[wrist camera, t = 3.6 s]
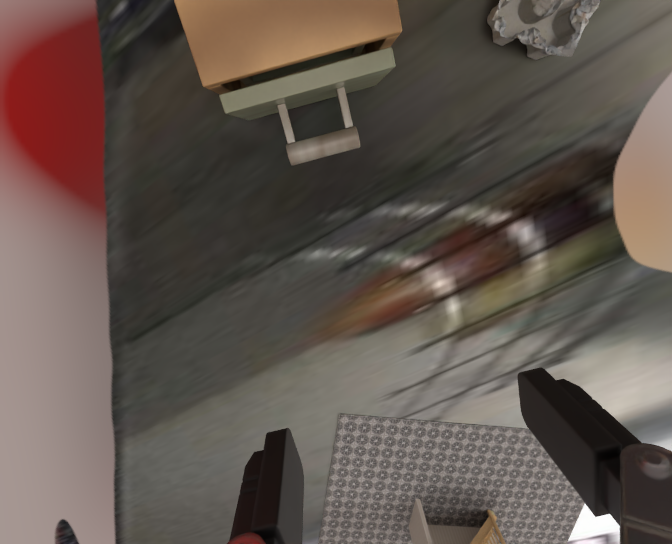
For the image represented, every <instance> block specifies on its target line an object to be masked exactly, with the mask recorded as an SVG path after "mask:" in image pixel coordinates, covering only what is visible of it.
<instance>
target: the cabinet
mask: <svg viewBox="0 0 672 544" xmlns="http://www.w3.org/2000/svg"><path fill="white" fill-rule="evenodd" d="M174 2H175V5H176V8H177V11H178V14H179V17H180V20H181V23H182V26H183V29H184V32H185V35H186V38H187V41H188V43H189V46H190V49H191V52H192V55H193V58H194V61H195V64H196V67H197V70H198V73H199V76H200V79H201V82H202V85H203V87H205V88H207V89H209V90H212V91H214V92H216V93H218V94H224V93H227V92H231V91H234V90H238V89H242V88H245V87H249V86H252V85H256V84H259V83H263V82H267V81H270V80H274V79H277V78H281V77H285V76H288V75H292V74H295V73H299V72H302V71H306V70H310V69H313V68H317V67H320V66H324V65H328V64H331V63H335V62H338V61H342V60H345V59H349V58H353V57H356V56H360V55H363V54H367V53H371V52H374V51H378V50H381V49H385V48H388V47H390V46H391V45H392V44H393V42H394V41H395V40H396V38H397V37H398V36H399V34H400V33H401V32H402V25H401V19H400V13H399V8H398V2H397V0H174ZM364 44H365V46H364V48H363V50H362V52H361V54H360V55H356V56H353V57H349V58H345V59H342V60H338V61H335V62H331V63H328V64H324V65H320V66H317V67H313V68H310V69H306V70H302V71H299V72H295V73H292V74H288V75H285V76H281V77H277V78H274V79H270V80H267V81H263V82H259V83H256V84H252V85H249V86H246V85H245V84H244V83H243V82H241V81H240V80H239V79H243V78H246V77H250V76H253V75H257V74H261V73H264V72H268V71H271V70H275V69H278V68H282V67H285V66H289V65H293V64H296V63H300V62H303V61H307V60H310V59H314V58H318V57H321V56H325V55H328V54H332V53H335V52H339V51H343V50H346V49H350V48H353V47H357V46H360V45H364Z"/></svg>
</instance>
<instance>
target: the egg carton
mask: <svg viewBox="0 0 672 544" xmlns="http://www.w3.org/2000/svg"><path fill="white" fill-rule="evenodd" d="M600 1H601V0H500V1H499V5H497V6H496V7H494V8H493V9H492V10H491V12H490V14H489V16H488V18H487V23H488V24H489V25H490V27H491V28H492V32H493V42H494V43H496V44H499V45H501V46H503V45H505V44H506V43H509V42H511V41H513V40H514V39H516V38H519V40H520V42H522V43H523V44H526V45H527V49H528V51H527V56H528V57H530V58H532V59H534V60H538V59H540V58H543V57H545V56H548V55H558V56H569V57H571V56H572V55H573V53H574V51H575V48H576V46H577V44H578V42H579V40H580V38H581V34H582V32H583V30H584V28H585V26H586V25H587V24H588V23H589V18H590V17H591V15H592V14H593V13H594V12H595V11H596V9H597V8H598V6H599V4H600Z"/></svg>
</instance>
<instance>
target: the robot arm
mask: <svg viewBox="0 0 672 544" xmlns="http://www.w3.org/2000/svg"><path fill="white" fill-rule="evenodd" d="M518 386H519V396H520V406H521V412H522V416H523V418H524V421H525V423H526V425H527V427H528V428H529V430H530V431H531V432H532V434H533V435H534V436H535V438H536V439H537V440H538V441H539V443H540V444H541V445H542V447H543V448H544V449H545V451H546V452H547V453H548V455H549V456H550V457H551V459H552V460H553V461H554V463H555V464H556V465H557V467H558V468H559V469H560V471H561V472H562V473H563V474H564V476H565V477H566V478H567V480H568V481H569V482H570V484H571V485H572V486H573V488H574V489H575V490H576V492H577V493H578V494H579V496H580V497H581V498H582V500H583V501H584V502H585V504H586V505H587V506H588V507H589V509H590V510H591V511H592V513H593V514H594V515H595V517H597V516H601V515H605V514H611V515H612V517H613V518H614V519H615V520H616V522H617V523H618V524H619V525H620V544H672V452H671V451H670V450H667V449H665V448H663V447H660V446H656V445H653V444H646V443H641V442H640V441H639V440H638V439H637V438H636V437H635V436H634V435H632V434H631V433H630V432H629V431H628V430H627V429H626V428H625V427H624V426H623V425H621V424H620V423H619V422H618V421H617V420H616V419H615V418H614V417H613V416H612V415H610V414H609V413H608V412H607V411H606V410H605V409H602V406H601V405H599V404H598V403H597V402H596V401H595V400H593V399H592V397H591V396H589V395H588V394H587V393H586V392H585V391H584V390H583V389H582V388H581V387H579V386H577V385H575V384H573V383H571V382H569V381H567V380H565V379H560V380H555V379H554V378H553V377H552V376H551V375H550V374H549V373H548V372H547V371H546V370H545V369H543V368H537V369H533V370H528V371H524V372H520V373H519V374H518ZM303 496H304V475H303V468H302V464H301V460H300V457H299V454H298V451H297V448H296V446H295V443H294V440H293V437H292V434H291V431H290V429H289V428H286V429H281V430H277V431H273V432H269V433H267V434H266V439H265V445H264V450H262V451H257V452H254V453H253V455H252V457H251V458H250V460H249V461H248V463H247V464H246V466H245V471H244V476H243V483H242V485H241V490H240V495H239V499H238V504H237V508H236V513H235V518H234V522H233V527H232V532H231V536H230V540H229V542H228V543H227V544H302V528H303Z"/></svg>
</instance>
